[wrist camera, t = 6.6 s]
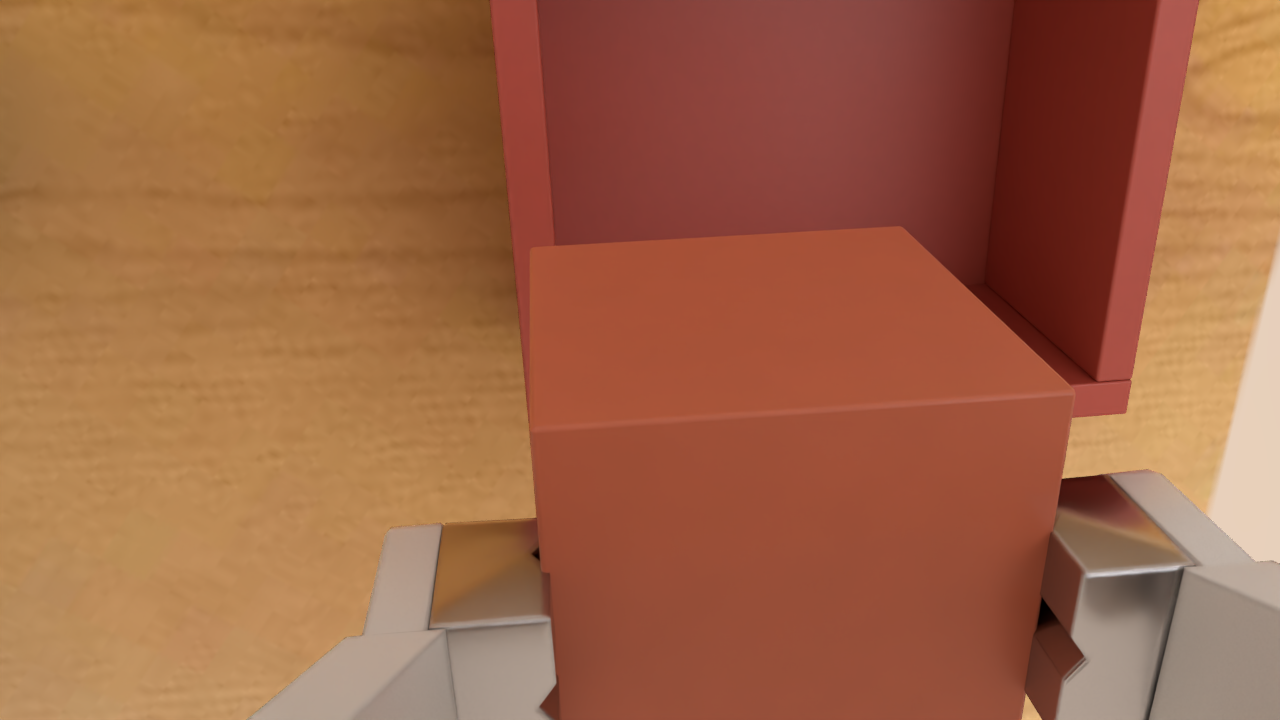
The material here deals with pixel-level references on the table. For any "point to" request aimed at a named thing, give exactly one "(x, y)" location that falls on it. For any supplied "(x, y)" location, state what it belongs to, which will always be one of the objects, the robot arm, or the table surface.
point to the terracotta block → (787, 480)
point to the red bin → (864, 142)
